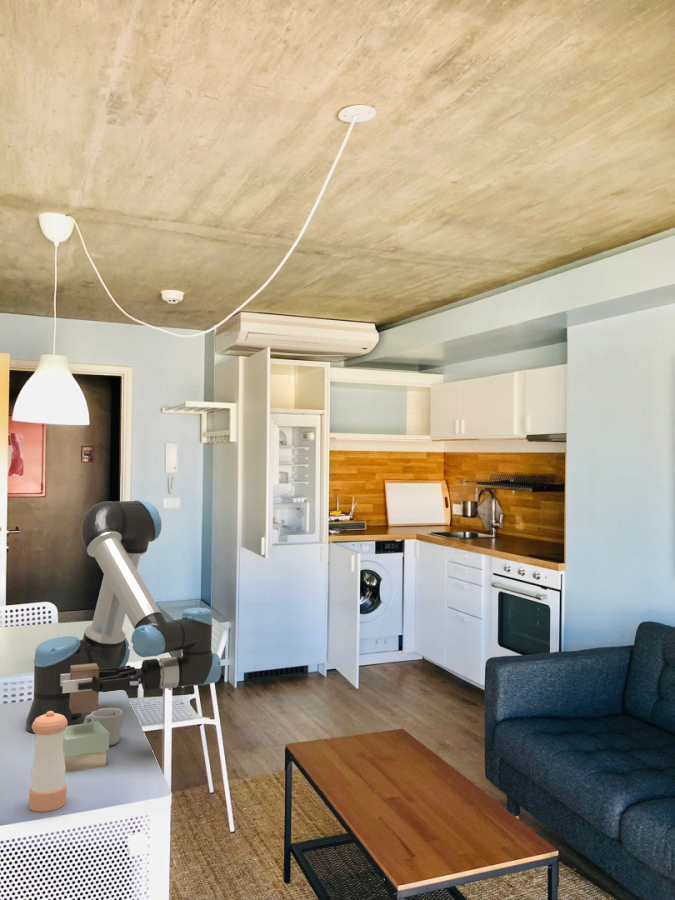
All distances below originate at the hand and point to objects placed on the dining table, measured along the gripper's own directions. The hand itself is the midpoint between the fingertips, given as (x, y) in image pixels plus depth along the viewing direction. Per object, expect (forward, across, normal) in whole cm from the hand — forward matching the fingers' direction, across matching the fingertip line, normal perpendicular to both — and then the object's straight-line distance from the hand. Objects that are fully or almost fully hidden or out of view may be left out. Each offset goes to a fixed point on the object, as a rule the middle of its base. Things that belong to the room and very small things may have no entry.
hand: (61, 683), depth 177 cm
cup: (-11, +12, -19) cm, 25 cm away
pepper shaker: (+4, -22, -20) cm, 30 cm away
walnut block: (-5, 0, -6) cm, 8 cm away
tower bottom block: (-5, 0, -20) cm, 20 cm away
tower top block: (-5, 0, -16) cm, 16 cm away
